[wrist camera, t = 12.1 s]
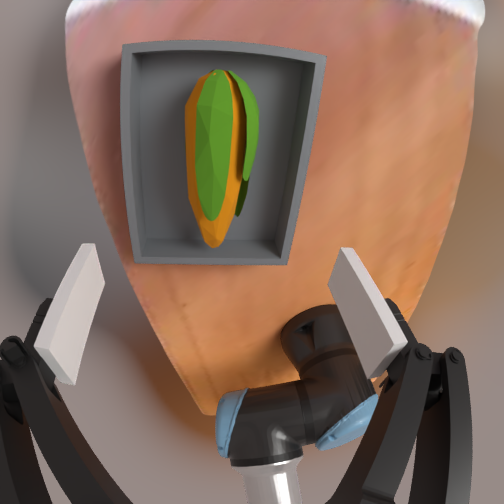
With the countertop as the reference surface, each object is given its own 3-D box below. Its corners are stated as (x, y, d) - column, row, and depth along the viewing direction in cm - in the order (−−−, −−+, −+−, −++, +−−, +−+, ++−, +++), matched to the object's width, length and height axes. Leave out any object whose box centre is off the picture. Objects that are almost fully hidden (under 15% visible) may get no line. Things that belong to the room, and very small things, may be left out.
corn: (269, 71, 19) (250, 270, 31) (261, 72, 25) (247, 232, 37) (175, 69, 18) (181, 268, 30) (190, 69, 24) (189, 230, 36)
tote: (279, 242, 40) (286, 265, 36) (142, 240, 37) (134, 263, 33) (310, 57, 25) (326, 55, 21) (136, 47, 22) (122, 44, 18)
